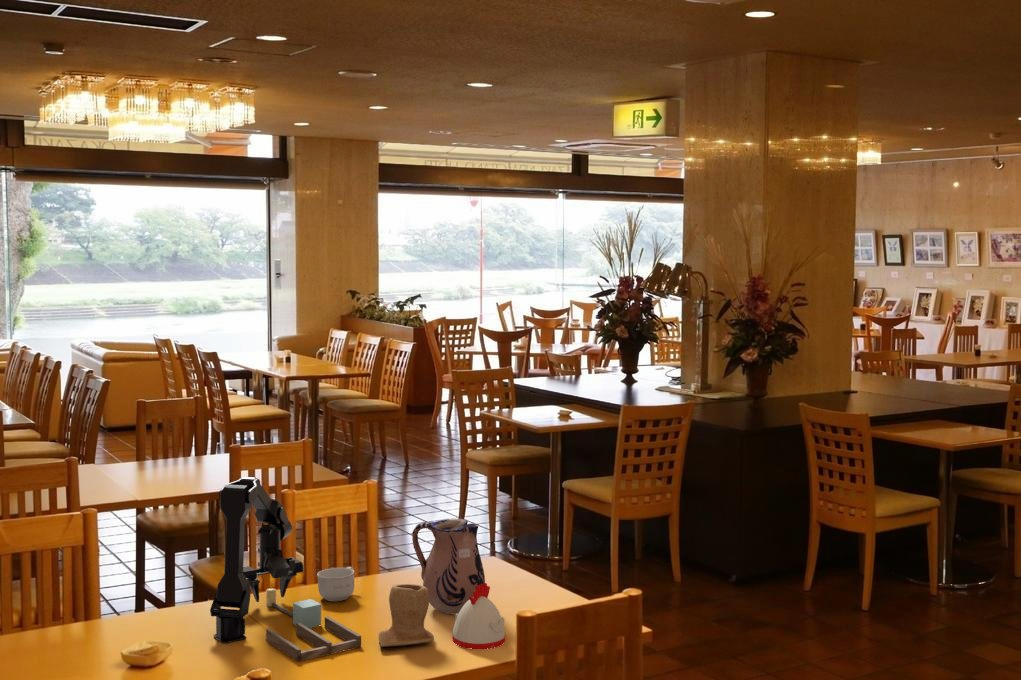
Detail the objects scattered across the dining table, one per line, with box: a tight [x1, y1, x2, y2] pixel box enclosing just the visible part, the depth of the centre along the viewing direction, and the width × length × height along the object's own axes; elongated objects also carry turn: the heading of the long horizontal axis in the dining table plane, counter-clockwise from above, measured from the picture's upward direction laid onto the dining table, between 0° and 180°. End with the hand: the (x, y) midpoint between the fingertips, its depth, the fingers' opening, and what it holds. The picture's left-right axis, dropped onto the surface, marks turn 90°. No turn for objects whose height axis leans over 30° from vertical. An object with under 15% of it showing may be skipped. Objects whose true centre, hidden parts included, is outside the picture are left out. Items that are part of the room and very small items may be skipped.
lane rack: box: [265, 616, 362, 663], centre depth 288 cm, size 18×18×3 cm
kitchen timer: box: [452, 582, 506, 650], centre depth 293 cm, size 14×14×15 cm
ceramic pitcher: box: [411, 518, 486, 615], centre depth 316 cm, size 18×21×25 cm
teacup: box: [316, 566, 355, 602], centre depth 326 cm, size 14×11×8 cm
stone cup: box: [378, 583, 435, 648], centre depth 290 cm, size 15×12×15 cm
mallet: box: [265, 588, 322, 629], centre depth 310 cm, size 6×25×6 cm, turn 40°
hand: (269, 599), depth 319 cm, fingers open, 7 cm apart
